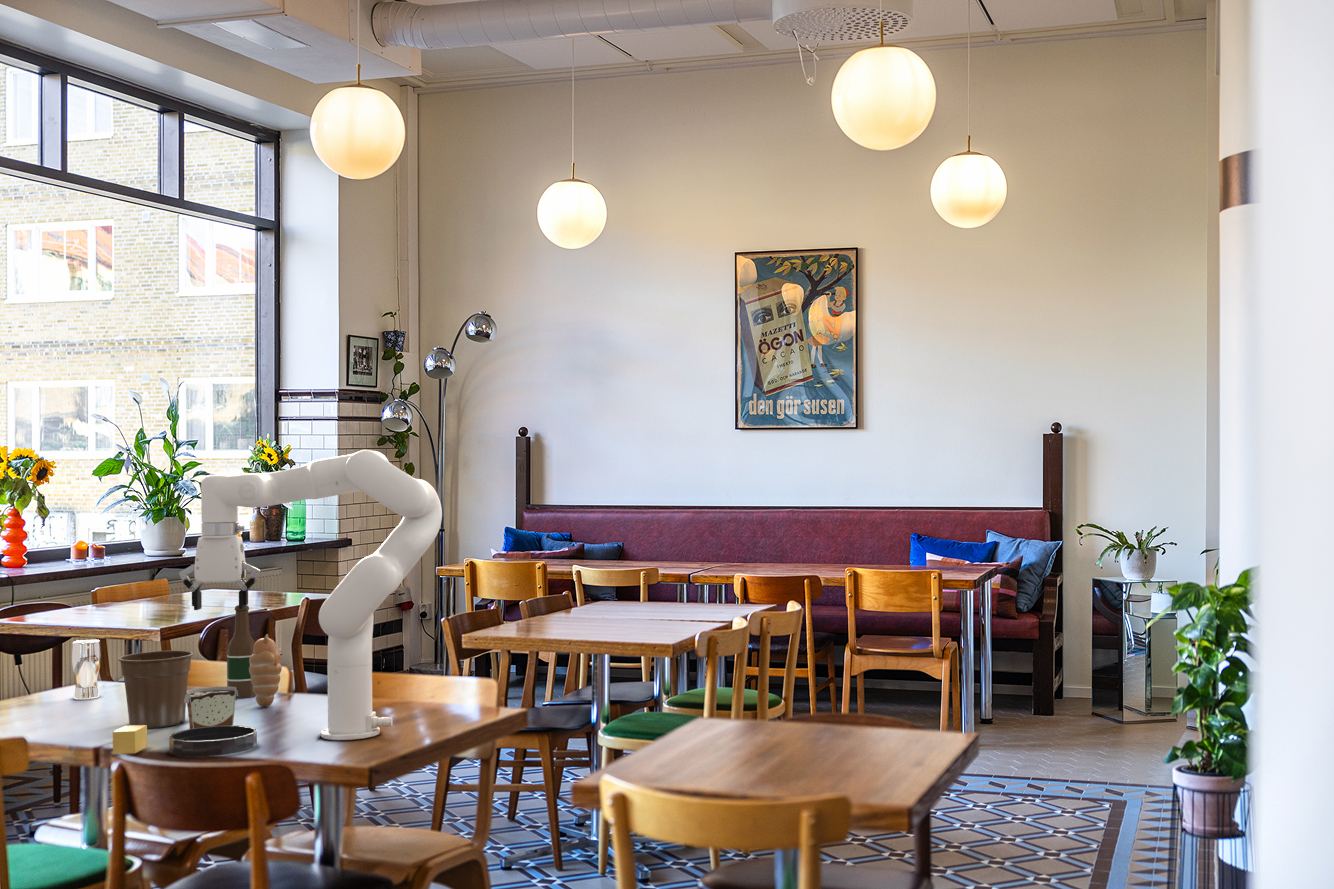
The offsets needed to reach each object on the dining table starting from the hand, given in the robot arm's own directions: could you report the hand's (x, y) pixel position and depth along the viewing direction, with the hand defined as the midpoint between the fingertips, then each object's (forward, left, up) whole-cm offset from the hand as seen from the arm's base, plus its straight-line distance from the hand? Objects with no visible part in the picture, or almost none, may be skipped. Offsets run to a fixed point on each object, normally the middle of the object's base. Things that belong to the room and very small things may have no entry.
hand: (220, 609), depth 279 cm
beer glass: (+54, -64, -28) cm, 88 cm away
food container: (+5, -6, -28) cm, 30 cm away
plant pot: (+21, -21, -28) cm, 41 cm away
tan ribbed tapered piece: (+1, -41, -28) cm, 50 cm away
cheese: (+15, +12, -28) cm, 34 cm away
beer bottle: (+12, -60, -28) cm, 68 cm away
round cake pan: (-2, +12, -28) cm, 31 cm away
